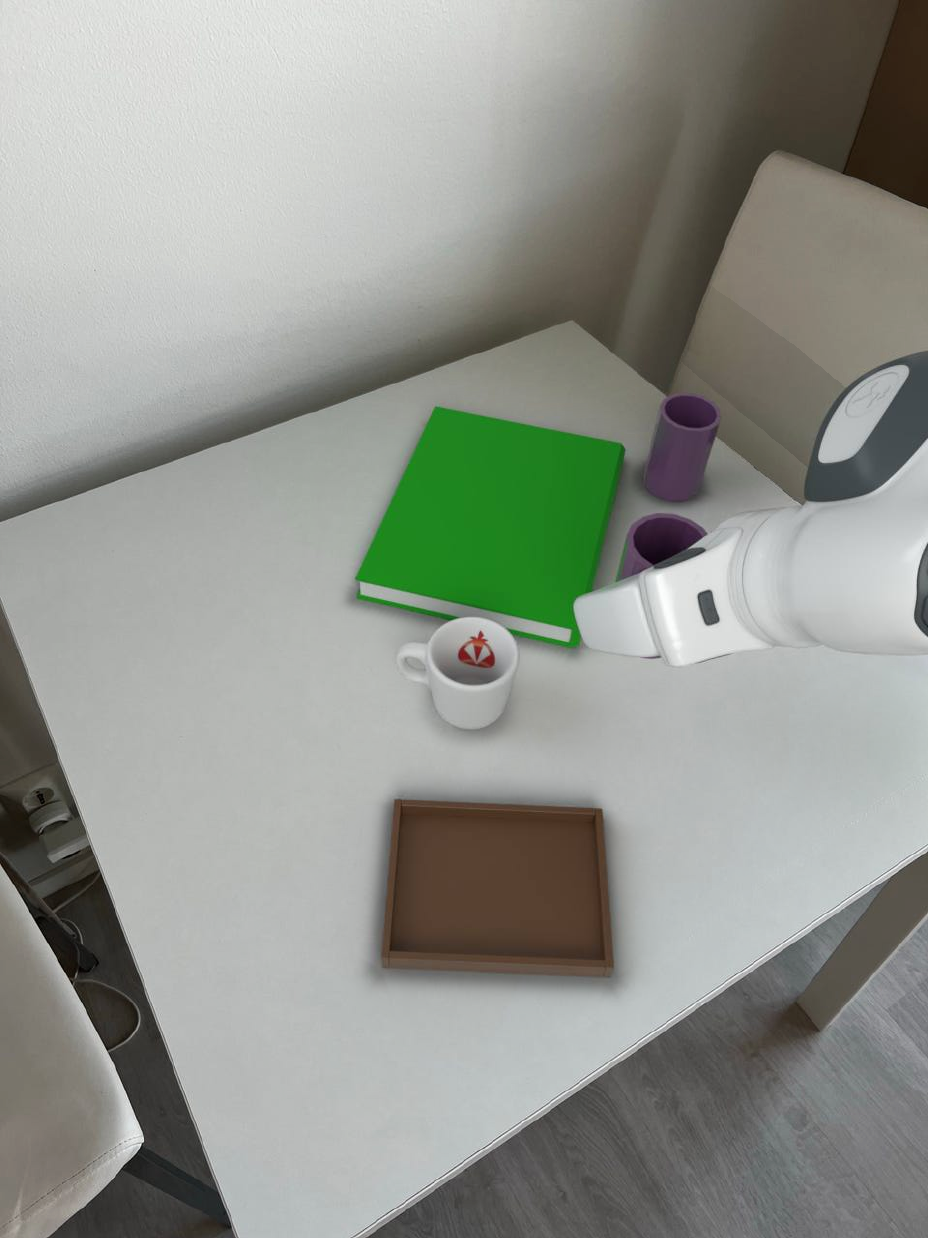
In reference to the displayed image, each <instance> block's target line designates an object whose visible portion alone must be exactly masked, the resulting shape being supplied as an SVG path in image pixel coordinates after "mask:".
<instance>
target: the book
mask: <svg viewBox="0 0 928 1238" xmlns="http://www.w3.org/2000/svg"><path fill="white" fill-rule="evenodd" d="M625 454H626V448H625V446H624V445H623V443H622V442H617V441H612V440H606V439H602V438H598V437H593V436H586V435H581V434H577V433H571V432H566V431H562V430H557V429H551V428H546V427H542V426H537V425H532V424H527V423H522V422H516V421H511V420H508V419H507V420H506V419H501V418H496V417H492V416H491V417H490V416H486V415H482V414H476V413H471V412H468V411H467V412H466V411H462V410H457V409H451V408H447V407H441V406H436V405H435V406H434V408H433V410H432V411H431V414H430V417H429V418H428V421H427V423H426V425H425V427H424V429H423V431H422V434H421V436H420V438H419V439H418V442H417V445H416V447H415V449H414V451H413V453H412V455H411V457H410V460H409V462H408V464H407V466H406V468H405V470H404V473H403V475H402V477H401V479H400V481H399V483H398V485H397V488H396V490H395V491H394V494H393V496H392V498H391V501H390V502H389V504H388V506H387V509H386V511H385V513H384V515H383V518H382V519H381V521H380V524H379V525H378V528H377V530H376V532H375V535H374V537H373V539H372V541H371V543H370V545H369V547H368V550H367V551H366V554H365V555H364V556H365V557H364V558H363V561H362V563H361V565H360V568H359V569H358V571H357V573H356V575H355V579H354V580H355V581H357V582H359V590H358V592H357V595H356V599H358V600H362V601H366V602H371V603H375V604H379V605H383V606H388V607H393V608H397V609H402V610H406V611H409V612H414V613H419V614H421V615H422V614H423V615H427V616H432V617H435V618H440V619H445V620H449V621H451V620H454V619H458V618H463V617H481V618H486V619H489V620H492V621H494V622H496V623H498V624H500V625H502V626H503V627H504V628H506V629H507V630H508V631H509V632H510V633H511V634H512V636H516V637H517V636H519V637H522V638H526V639H531V640H535V641H540V642H542V643H543V642H544V643H549V644H552V645H557V646H561V647H566V648H569V649H573V648H575V647H577V646H579V645H580V641H581V638H582V636H581V634H580V631H579V628H578V625H577V621H576V618H575V613H574V602H575V600H576V599H577V598H578V597H579V596H581V595H583V594H586V593H589V592H592V591H593V588H594V585H595V579H596V575H597V571H598V567H599V564H600V563H599V562H600V558H601V554H602V549H603V546H604V542H605V538H606V534H607V530H608V526H609V522H610V518H611V517H610V516H611V514H612V509H613V505H614V501H615V496H616V492H617V489H618V484H619V480H620V477H621V472H622V469H623V468H622V467H623V463H624V459H625Z"/></svg>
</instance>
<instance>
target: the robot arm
mask: <svg viewBox="0 0 928 1238" xmlns="http://www.w3.org/2000/svg"><path fill="white" fill-rule="evenodd" d="M804 480H805V481H804V485H803V498H804V500H805V502H804V504H803V505H791V506H784V507H783V506H782V507H775V508H764V509H755V510H748V511H742V512H739V513H736V514H734V515H732V516H730V517H729V518H727V519H726V520H724V521H722V523H720V524H719V525H718V526H717V527H716V529H714V530H713V531H711V532H709V533H707V534H708V535H706V536H705V537H703V538H702V539H701V540H699V541H698V542H696V543H695V544H694V545H692V546H691V547H689V548H688V549H686V550H684V551H682V552H680V553H678V554H676V555H675V556H673V557H671V558H669V559H666V560H664V561H662V562H660V563H658V564H655V565H654V566H653V567H651V568H648V569H646V570H644V571H642V572H641V573H638V574H636V575H633V576H631V577H628V578H626V579H623V580H620V581H618V582H615V581H614V582H613V583H610V584H608V585H605V586H603V587H600V588H598V589H596V590H592V592H589V593H586V594H583V595H581V596H579V597H578V598H577V599H576V600H575V602H574V613H575V618H576V621H577V625H578V628H579V631H580V634H581V638H582V639H581V640H582V641H583V643H584V645H585V646H586V647H587V648H589V649H591V650H593V651H596V652H598V653H604V654H609V655H616V656H620V657H621V656H622V657H628V658H640V657H653V656H659V655H660V656H661V658H660V659H661V660H662V663H663V665H664V666H667V667H669V668H684V667H688V666H692V665H697V664H700V663H705V662H707V661H712V660H715V659H718V658H722V657H726V656H729V655H732V654H737V653H743V652H754V651H768V650H772V649H774V648H775V647H781V648H792V649H809V648H816V647H820V646H825V647H827V648H829V649H831V650H834V651H836V652H837V651H838V652H842V653H848V654H859V655H869V656H871V655H872V656H895V657H896V656H901V657H902V656H905V657H906V656H907V657H908V656H909V657H910V656H911V657H913V656H926V655H928V350H922V351H919V352H914V353H910V354H907V355H904V356H901V357H898V358H895V359H893V360H890V361H887V362H885V363H882V364H881V365H878V366H876V367H874V368H872V369H871V370H869V371H867V372H865V373H864V374H861V376H859V377H858V378H856V379H855V380H853V382H851V383H850V384H849V385H848V386H847V387H846V388H844V389H843V391H842V392H841V393H840V394H839V396H838V397H837V398H835V400H834V402H833V403H832V405H831V407H829V410H828V411H827V413H826V415H825V417H824V418H823V420H822V421H821V424H820V427H819V429H818V431H817V433H816V437H815V439H814V444H813V448H812V451H811V456H810V459H809V463H808V467H807V471H806V475H805V479H804Z"/></svg>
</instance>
